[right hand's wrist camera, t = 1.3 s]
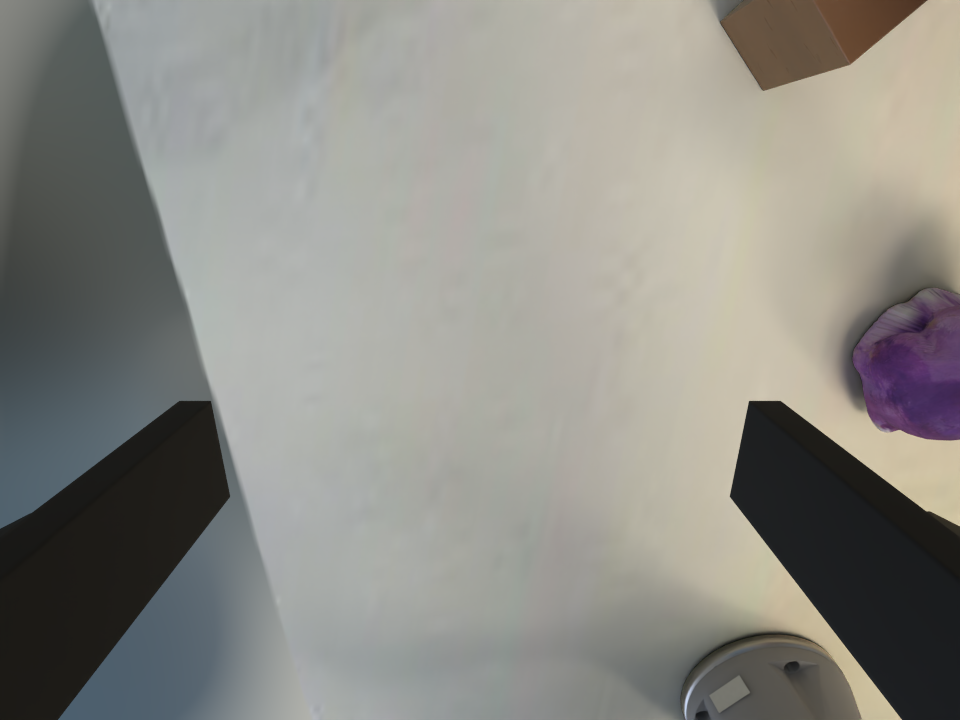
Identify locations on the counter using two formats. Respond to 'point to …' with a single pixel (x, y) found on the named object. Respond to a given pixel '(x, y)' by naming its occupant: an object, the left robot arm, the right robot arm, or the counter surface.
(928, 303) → the figurine
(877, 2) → the walnut box
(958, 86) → the counter surface
